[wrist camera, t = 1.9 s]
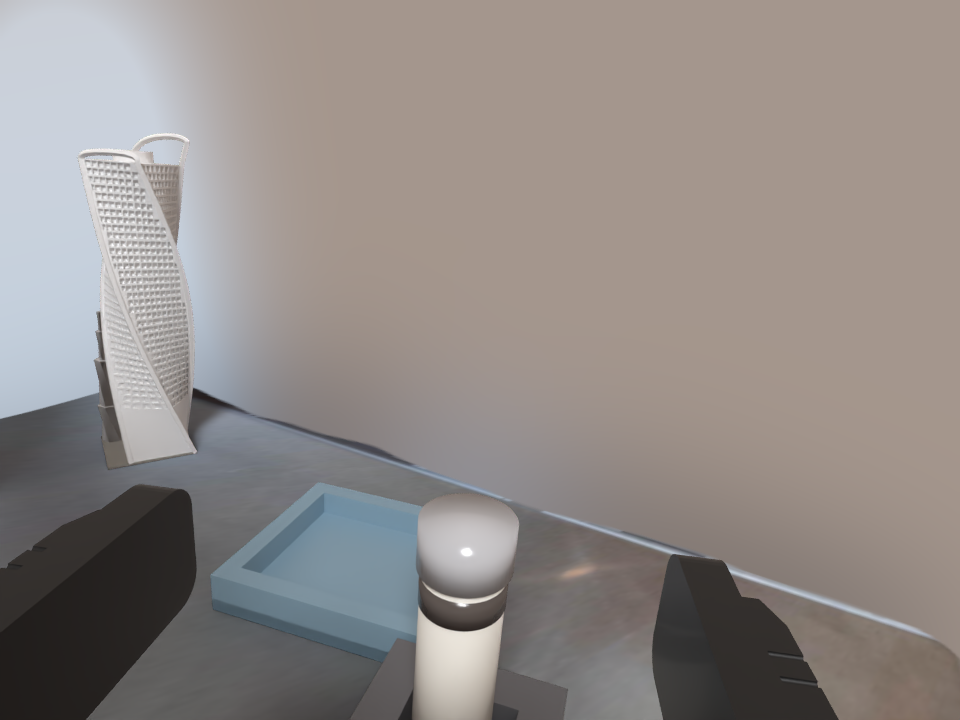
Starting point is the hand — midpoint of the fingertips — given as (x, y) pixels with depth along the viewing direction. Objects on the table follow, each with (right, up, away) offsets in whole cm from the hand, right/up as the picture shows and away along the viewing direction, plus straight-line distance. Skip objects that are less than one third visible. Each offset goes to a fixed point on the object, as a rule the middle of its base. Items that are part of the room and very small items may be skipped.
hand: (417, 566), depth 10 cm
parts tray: (-7, -11, +30) cm, 32 cm away
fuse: (-1, -16, +16) cm, 23 cm away
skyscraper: (-29, -5, +45) cm, 54 cm away
